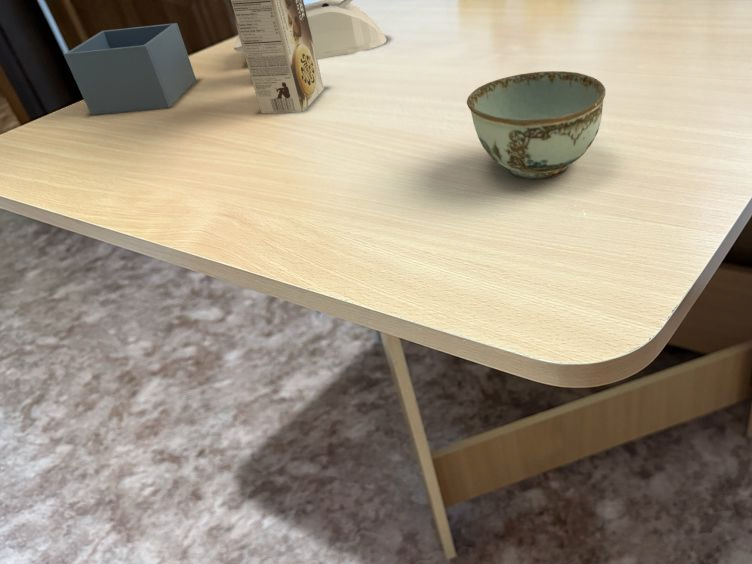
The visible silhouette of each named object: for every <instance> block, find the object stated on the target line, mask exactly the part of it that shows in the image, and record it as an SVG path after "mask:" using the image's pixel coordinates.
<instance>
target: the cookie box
mask: <svg viewBox="0 0 752 564" xmlns="http://www.w3.org/2000/svg"><path fill="white" fill-rule="evenodd" d="M228 3H229V6H230V10H231V13H232V17H233V20H234V24H235V27H236V30H237V34H238V36H239V37H240V41H241V44H242V48H243V51H244V53H243V54H244V55H243V56H244V58H245V62H246V65H247V67H248V73H249V75H250V78H251V82H252V86H253V89H254V93H255V96H256V99H257V102H258V105H259V108H260V113H261V114H283V113H285V114H286V113H302V112H304V111H305V110H306V109H307V108H308V107H309V106H310V105H311V104H312V103H313V102H314V100H316V98H317V97H319V95H320V94H321V93H322V92H323V91H324V90H325V87H324V83H323V79H322V75H321V70H320V66H319V62H318V58H317V57H316V53H315V49H314V44H313V40H312V35H311V31H310V27H309V23H308V19H307V15H306V10H305V6H304V5H305V1H304V0H228Z"/></svg>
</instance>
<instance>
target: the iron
mask: <svg viewBox="0 0 752 564" xmlns="http://www.w3.org/2000/svg"><path fill="white" fill-rule="evenodd" d="M352 2H353V0H318V1H314V2H310V3H306V4H304V6H305V10H306V15H307V19H308V23H309V27H310V31H311V35H312V40H313V44H314V49H315V53H316V57H317V59H322V58H329V57H336V56H343V55H344V56H345V55H349V54H354V53H358V52H363V51H367V50H370V49H374V48H376V47H379V46H382V45H384V44H385V43H386V42H387V38H386V36H385V35H384V33H383V31H382V30H381V28H380V27H379V26H378V24H377V23H376V22H375V20H374V19H373V18H371V16H369V14H367V13H366V12H365V10H363V9H361V8H360V7H359V6H357V5H355V4H353V3H352ZM233 50H234V51H235V52H236V53H240V54H244V51H243V48H242V44H241V41H240V37H239V35H238V36H237V39H236V40H235V44H234V46H233Z"/></svg>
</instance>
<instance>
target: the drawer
mask: <svg viewBox="0 0 752 564" xmlns="http://www.w3.org/2000/svg"><path fill="white" fill-rule="evenodd" d="M63 56H64V58H65V61H66V63H67V65H68V67H69V69H70V71H71V74H72V76H73V78H74V81H75V83H76V85H77V88H78V89H79V92H80V94H81V96H82V99H83V100H84V103H85V105H86V108H87V110H88V112H89V113H90V116H99V115H107V114H108V115H109V114H110V115H111V114H120V113H132V112H133V113H134V112H142V111H153V110H164V109H170V108H171V107H172V106H173V105H174V104H175V103H176V102H177V101H178V100H179V99H180V98H181V97H182V96H183V95H185V93H186V92H188V90H190V88H192V86H194V84H195V83H196V82H197V77H196V75H195V72H194V68H193V66H192V63H191V60H190V57H189V54H188V51H187V48H186V45H185V42H184V39H183V36H182V33H181V30H180V28H179V25H178V23H177V22H174V23H164V24H154V25H146V26H137V27H136V26H135V27H128V28H127V27H125V28H116V29H108V30H107V29H105V30H101V31H100V32H98V33H96V34H95V35H93V36H91V37H90V38H88V39H87V40H85V41H83V42H81V43H80V44H78V45H77V46H75V47H73V48H72V49H70V50H69V51H67V52H65V53H64V54H63Z"/></svg>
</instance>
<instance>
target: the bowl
mask: <svg viewBox="0 0 752 564" xmlns="http://www.w3.org/2000/svg"><path fill="white" fill-rule="evenodd" d="M605 96H606V88H605V85H604V84H603V83H602V82H601V81H600V80H599V79H597V78H595V77H593V76H590V75H587V74H584V73H580V72H576V71H575V72H573V71H563V70H560V71H558V70H551V71H534V72H527V73H520V74H514V75H511V76H506V77H503V78H498V79H495V80H492V81H489V82H487V83H485V84H483V85H481V86H479V87H477V88H475V89H474V90H473V91H472V92H471V93H470V94H469V95H468V97H467V99H466V105H467V108H468V109H469V111H470V113H471V119H472V122H473V126H474V130H475V133H476V136H477V139H478V140H479V142H480V144H481V146H482V148H483V149H484V151H485V152H486V153H487V154H488V156H489V157H490V158H491V159H492V160H493V161H495V162H496V163H497V164H498V165H500V166H501V167H504V168H505V169H506V170H507V169H508V170H509V172H510V174H512V175H513V176H515V177H517V178H520V179H525V180H534V181H535V180H545V179H550V178H554V177H557V176H559V175H561V174H563V173H565V172H566V171H567V170H568V168H569V166H570V165H572V164H573V163H575V162H576V161H578V160H579V159H580V158H582V157H583V155H584V154H585V153H586V152H587V151H588V150H589V148H590V147H591V145H592V144H593V142H594V140H595V139H596V137H597V135H598V133H599V129H600V126H601V122H602V117H603V116H602V115H603V106H604V99H605V98H606V97H605Z"/></svg>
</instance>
